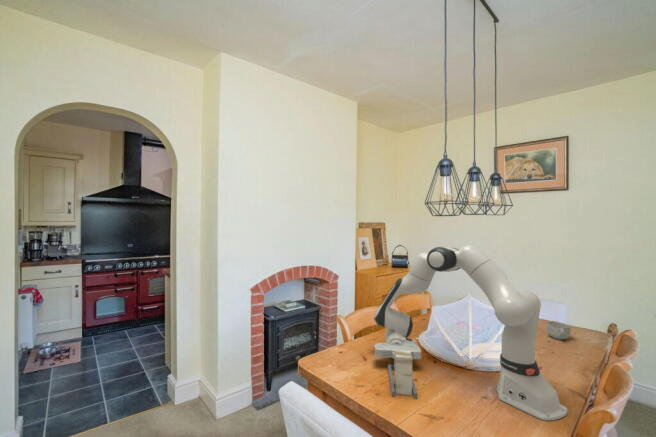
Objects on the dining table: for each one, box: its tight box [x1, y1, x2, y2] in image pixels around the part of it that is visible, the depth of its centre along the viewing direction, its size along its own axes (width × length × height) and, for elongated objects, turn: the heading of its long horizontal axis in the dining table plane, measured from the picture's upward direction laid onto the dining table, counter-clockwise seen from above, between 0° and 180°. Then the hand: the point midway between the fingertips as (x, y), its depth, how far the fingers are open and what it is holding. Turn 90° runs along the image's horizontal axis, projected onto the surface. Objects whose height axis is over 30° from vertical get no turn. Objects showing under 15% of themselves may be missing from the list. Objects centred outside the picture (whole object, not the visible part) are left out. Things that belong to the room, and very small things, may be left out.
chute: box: [387, 363, 418, 400], centre depth 127 cm, size 22×10×3 cm, turn 173°
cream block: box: [393, 350, 413, 396], centre depth 121 cm, size 6×6×14 cm
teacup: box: [546, 320, 572, 341], centre depth 176 cm, size 14×11×8 cm
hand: (399, 359), depth 132 cm, fingers closed
